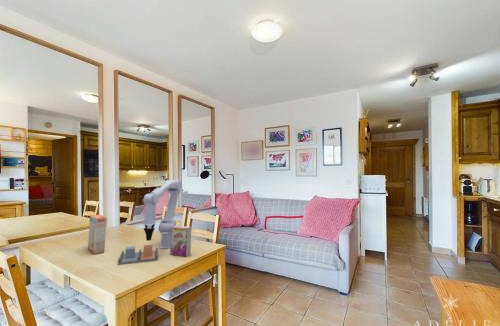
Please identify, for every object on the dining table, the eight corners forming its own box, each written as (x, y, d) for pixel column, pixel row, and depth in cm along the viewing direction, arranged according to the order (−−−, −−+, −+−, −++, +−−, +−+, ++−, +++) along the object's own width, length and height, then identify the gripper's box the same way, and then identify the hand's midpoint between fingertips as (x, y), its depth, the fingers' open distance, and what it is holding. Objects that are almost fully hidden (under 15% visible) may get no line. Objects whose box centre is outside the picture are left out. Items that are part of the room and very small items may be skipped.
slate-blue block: (134, 255, 127) (135, 246, 127) (134, 257, 122) (134, 248, 123) (125, 256, 125) (126, 246, 125) (124, 258, 121) (125, 249, 121)
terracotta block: (151, 253, 130) (152, 244, 130) (152, 256, 126) (152, 247, 126) (143, 254, 128) (143, 245, 128) (143, 257, 124) (143, 247, 124)
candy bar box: (169, 254, 132) (170, 226, 132) (175, 252, 136) (176, 225, 137) (185, 257, 128) (186, 228, 129) (190, 254, 133) (191, 226, 133)
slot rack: (157, 252, 136) (157, 247, 136) (157, 260, 123) (157, 255, 123) (121, 255, 128) (122, 251, 128) (118, 264, 115) (118, 260, 115)
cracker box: (105, 252, 132) (107, 217, 134) (92, 255, 128) (95, 218, 129) (98, 247, 142) (100, 213, 143) (87, 249, 138) (89, 215, 139)
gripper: (143, 212, 134) (142, 235, 133) (141, 217, 120) (140, 242, 119) (155, 212, 136) (154, 234, 136) (155, 216, 123) (154, 241, 122)
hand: (149, 238), depth 128 cm, fingers open, 7 cm apart
